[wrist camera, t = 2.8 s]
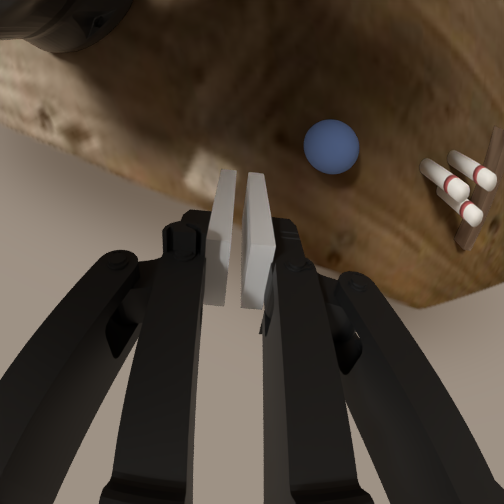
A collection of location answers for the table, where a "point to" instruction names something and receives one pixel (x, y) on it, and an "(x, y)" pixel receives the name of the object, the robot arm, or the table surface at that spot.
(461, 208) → the pin
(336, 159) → the ball
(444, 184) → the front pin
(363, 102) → the table surface
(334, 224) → the table surface
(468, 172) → the pin
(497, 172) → the back wall
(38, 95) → the table surface
